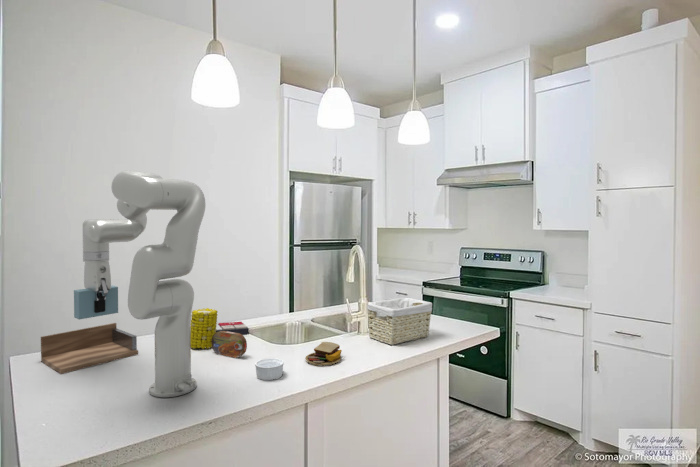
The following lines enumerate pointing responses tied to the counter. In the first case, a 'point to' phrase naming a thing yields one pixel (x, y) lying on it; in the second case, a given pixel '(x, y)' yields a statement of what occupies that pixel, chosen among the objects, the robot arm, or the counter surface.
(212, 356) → the counter surface
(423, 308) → the storage basket
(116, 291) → the book
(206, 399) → the counter surface
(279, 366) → the ramekin
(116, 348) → the shelf
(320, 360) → the toy sandwich meal
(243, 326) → the red white box
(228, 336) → the tin
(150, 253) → the robot arm
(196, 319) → the food
